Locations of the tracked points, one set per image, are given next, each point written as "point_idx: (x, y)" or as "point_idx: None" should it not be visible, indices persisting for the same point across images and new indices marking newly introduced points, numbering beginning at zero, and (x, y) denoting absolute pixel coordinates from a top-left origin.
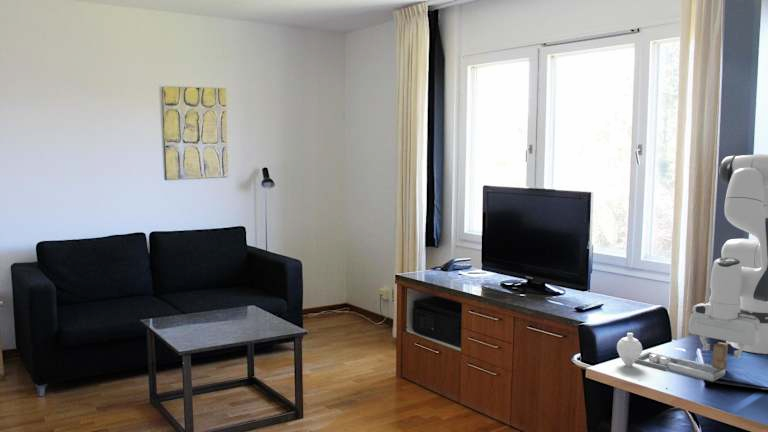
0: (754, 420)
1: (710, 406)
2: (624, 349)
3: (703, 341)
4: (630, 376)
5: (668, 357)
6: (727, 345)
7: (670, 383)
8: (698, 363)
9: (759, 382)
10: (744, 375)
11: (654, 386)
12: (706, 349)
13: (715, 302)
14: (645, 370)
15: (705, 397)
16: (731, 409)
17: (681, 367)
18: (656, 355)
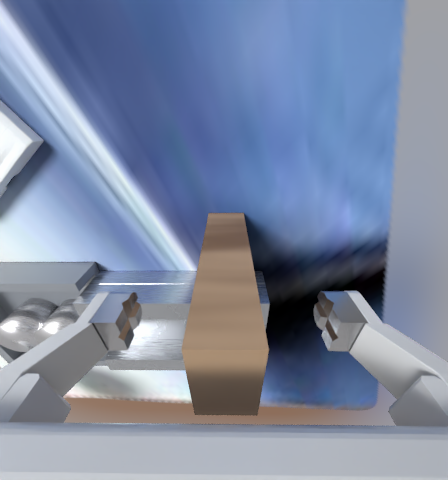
0: (365, 408)
1: (289, 404)
2: None
3: (80, 378)
4: (100, 383)
5: (54, 330)
6: (265, 340)
7: (177, 370)
8: (163, 314)
9: (383, 200)
10: (312, 149)
11: (169, 393)
12: (135, 321)
13: None
14: None
15: (267, 385)
16: (324, 398)
17: (157, 368)
18: (17, 337)
